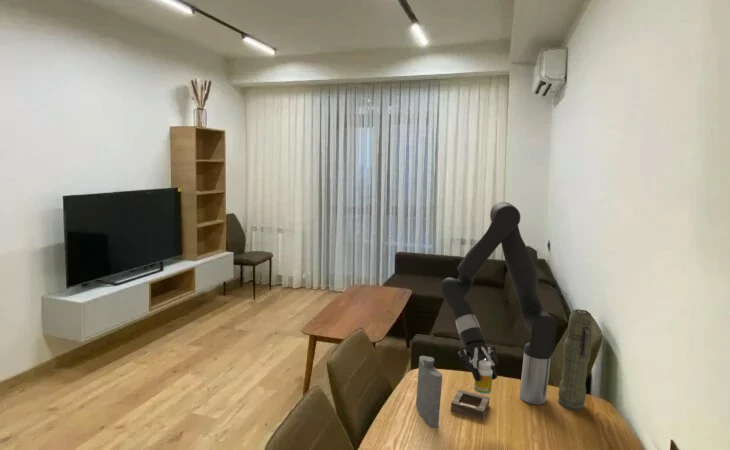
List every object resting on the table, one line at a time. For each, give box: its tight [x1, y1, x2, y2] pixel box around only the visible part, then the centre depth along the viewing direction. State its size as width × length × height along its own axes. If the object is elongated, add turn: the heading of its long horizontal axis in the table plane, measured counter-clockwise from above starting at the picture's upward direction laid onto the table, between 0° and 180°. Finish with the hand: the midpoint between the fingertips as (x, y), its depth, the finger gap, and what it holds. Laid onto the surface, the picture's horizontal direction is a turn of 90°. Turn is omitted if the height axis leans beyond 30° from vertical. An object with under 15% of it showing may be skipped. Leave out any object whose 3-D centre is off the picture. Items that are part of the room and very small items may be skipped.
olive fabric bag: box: [557, 309, 593, 411], centre depth 167 cm, size 9×12×35 cm
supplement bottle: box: [473, 360, 493, 395], centre depth 151 cm, size 5×5×10 cm
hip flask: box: [415, 355, 443, 429], centre depth 155 cm, size 16×4×20 cm, turn 12°
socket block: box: [450, 389, 490, 421], centre depth 162 cm, size 11×11×3 cm
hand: (487, 379), depth 150 cm, fingers closed on supplement bottle, 5 cm apart
